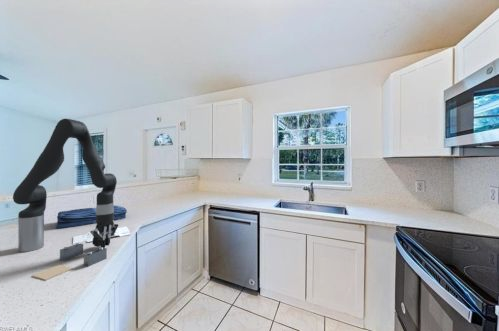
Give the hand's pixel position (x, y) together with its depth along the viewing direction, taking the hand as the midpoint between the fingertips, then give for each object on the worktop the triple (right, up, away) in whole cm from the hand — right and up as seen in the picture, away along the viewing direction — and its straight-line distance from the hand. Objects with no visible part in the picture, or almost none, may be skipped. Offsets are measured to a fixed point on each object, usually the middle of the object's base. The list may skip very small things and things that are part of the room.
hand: (105, 245), depth 104 cm
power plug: (0, -5, 0) cm, 5 cm away
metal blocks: (-3, -3, -10) cm, 11 cm away
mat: (-6, -3, -21) cm, 22 cm away
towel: (-49, -3, +56) cm, 74 cm away
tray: (-18, -3, +23) cm, 30 cm away
